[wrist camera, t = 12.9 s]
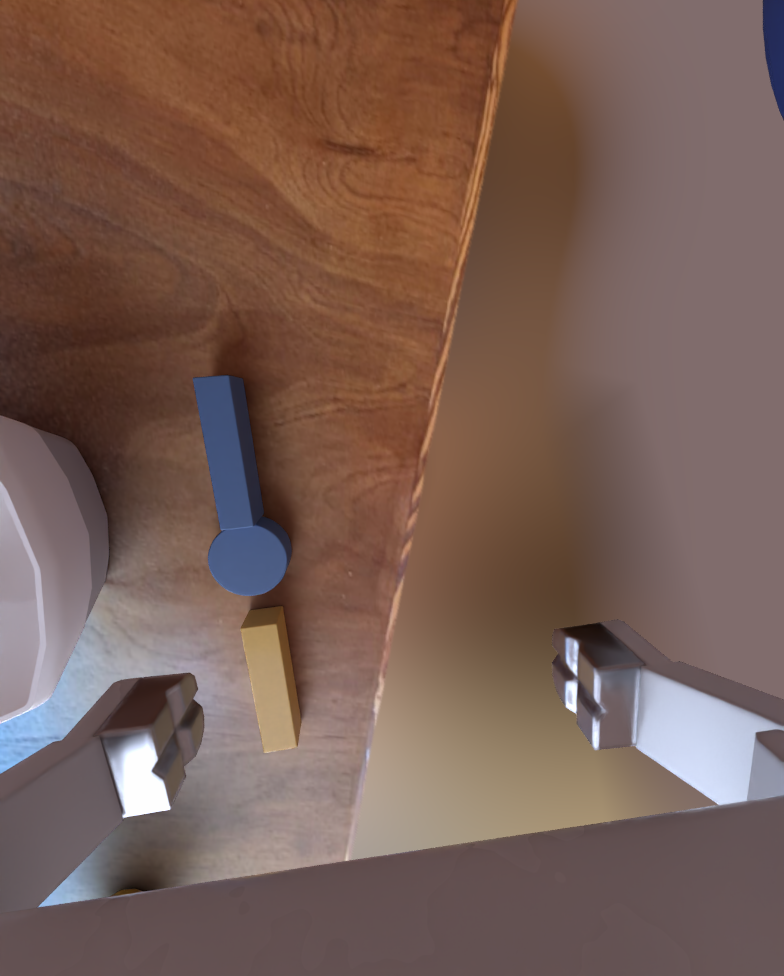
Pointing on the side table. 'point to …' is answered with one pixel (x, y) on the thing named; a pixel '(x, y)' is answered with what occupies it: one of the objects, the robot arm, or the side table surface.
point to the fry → (272, 678)
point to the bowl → (44, 560)
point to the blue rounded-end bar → (238, 493)
